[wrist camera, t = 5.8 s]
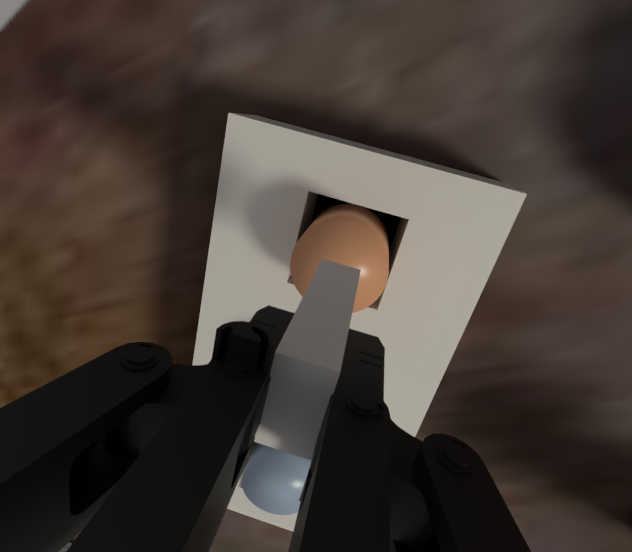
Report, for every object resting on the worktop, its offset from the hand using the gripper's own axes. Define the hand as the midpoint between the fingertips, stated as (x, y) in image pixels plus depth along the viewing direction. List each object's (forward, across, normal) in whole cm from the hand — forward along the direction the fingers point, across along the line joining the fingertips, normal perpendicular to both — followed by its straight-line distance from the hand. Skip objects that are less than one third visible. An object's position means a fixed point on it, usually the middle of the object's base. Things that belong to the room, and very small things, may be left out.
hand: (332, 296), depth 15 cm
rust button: (+7, 0, 0) cm, 7 cm away
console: (+9, 0, -8) cm, 12 cm away
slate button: (+8, 0, -16) cm, 18 cm away
